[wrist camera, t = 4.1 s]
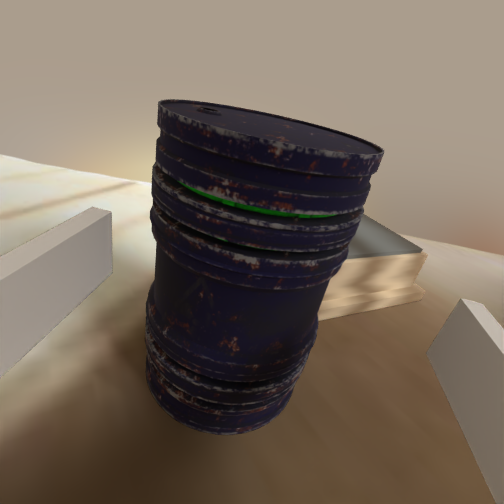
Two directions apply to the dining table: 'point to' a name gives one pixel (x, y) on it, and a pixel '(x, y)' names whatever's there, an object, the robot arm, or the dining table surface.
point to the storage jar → (244, 256)
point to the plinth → (374, 273)
